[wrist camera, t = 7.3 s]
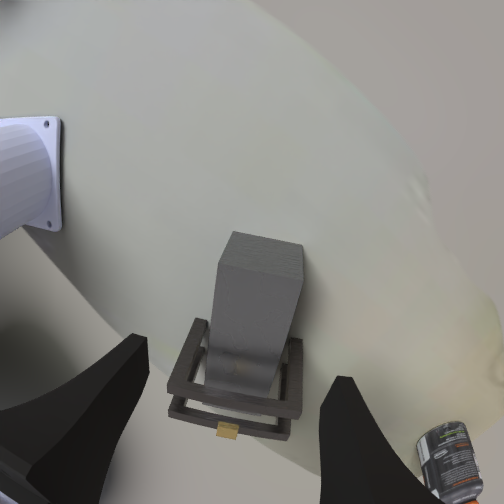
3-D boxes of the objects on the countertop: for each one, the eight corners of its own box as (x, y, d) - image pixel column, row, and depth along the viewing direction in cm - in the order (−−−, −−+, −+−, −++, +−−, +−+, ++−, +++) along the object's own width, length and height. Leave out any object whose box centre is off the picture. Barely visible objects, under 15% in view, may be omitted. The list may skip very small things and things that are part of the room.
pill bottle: (405, 447, 27) (418, 535, 16) (441, 417, 24) (466, 512, 14) (440, 449, 27) (456, 528, 17) (474, 421, 24) (500, 504, 14)
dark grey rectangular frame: (192, 354, 23) (166, 423, 17) (193, 342, 22) (166, 413, 16) (290, 373, 23) (285, 447, 17) (293, 363, 22) (290, 438, 16)
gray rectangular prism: (213, 363, 23) (201, 403, 20) (232, 230, 18) (217, 262, 15) (266, 375, 23) (261, 416, 19) (302, 244, 18) (304, 280, 15)
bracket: (194, 326, 22) (167, 392, 16) (195, 317, 21) (167, 384, 16) (299, 347, 21) (298, 419, 16) (302, 339, 21) (302, 411, 15)
